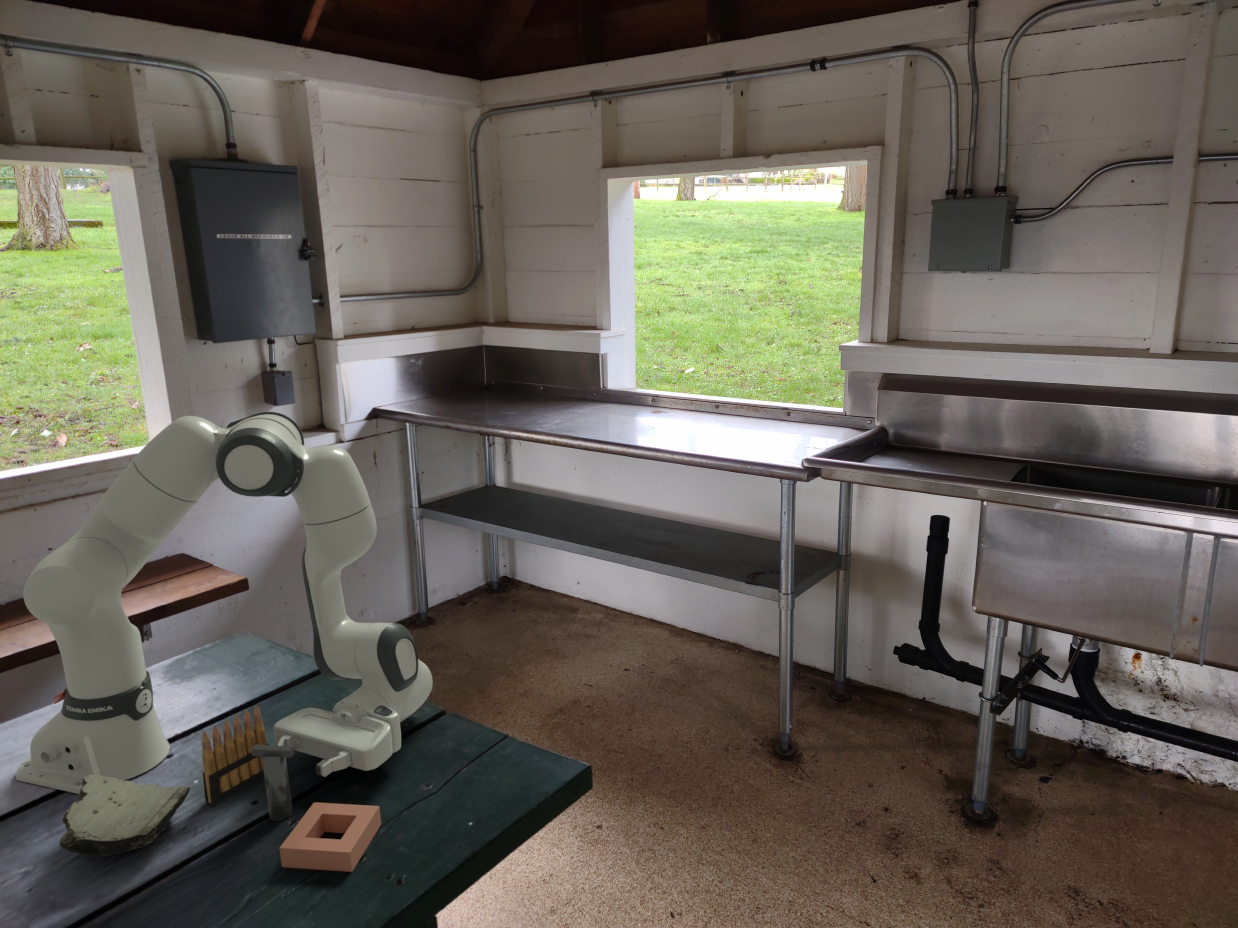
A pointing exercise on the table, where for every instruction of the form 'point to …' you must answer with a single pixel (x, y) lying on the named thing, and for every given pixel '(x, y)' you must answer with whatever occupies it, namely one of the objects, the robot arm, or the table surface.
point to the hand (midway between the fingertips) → (295, 764)
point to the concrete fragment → (118, 815)
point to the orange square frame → (331, 853)
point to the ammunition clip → (232, 758)
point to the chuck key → (276, 778)
